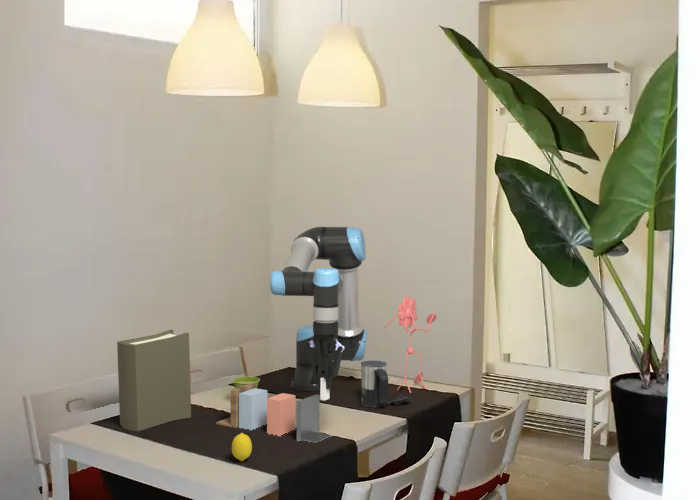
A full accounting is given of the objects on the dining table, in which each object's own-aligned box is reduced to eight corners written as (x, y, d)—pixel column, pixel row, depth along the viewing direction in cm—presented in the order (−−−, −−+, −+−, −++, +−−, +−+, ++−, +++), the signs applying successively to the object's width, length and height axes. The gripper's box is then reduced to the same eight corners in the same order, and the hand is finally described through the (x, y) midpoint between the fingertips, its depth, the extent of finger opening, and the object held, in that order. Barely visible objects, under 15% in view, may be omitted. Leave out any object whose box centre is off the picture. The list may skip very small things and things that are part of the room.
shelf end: (236, 416, 270) (236, 380, 269) (255, 420, 266) (255, 384, 265) (216, 424, 262) (216, 387, 261) (235, 428, 257) (235, 390, 256)
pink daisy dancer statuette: (440, 385, 315) (442, 295, 313) (398, 397, 296) (400, 301, 293) (408, 378, 326) (410, 291, 323) (366, 390, 306) (367, 297, 303)
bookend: (315, 432, 254) (315, 394, 253) (332, 436, 250) (333, 397, 250) (296, 441, 245) (296, 401, 244) (314, 444, 242) (315, 404, 241)
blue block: (254, 421, 265) (254, 388, 264) (267, 424, 262) (267, 390, 261) (239, 427, 258) (239, 393, 257) (251, 430, 255) (251, 395, 255)
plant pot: (242, 409, 279) (242, 384, 278) (227, 403, 286) (227, 379, 285) (265, 404, 285) (265, 380, 284) (249, 399, 292) (249, 375, 292)
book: (135, 434, 252) (132, 344, 250) (117, 428, 258) (114, 340, 256) (191, 417, 269) (188, 333, 266) (173, 412, 275) (170, 329, 272)
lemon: (228, 463, 225) (228, 434, 225) (237, 457, 231) (237, 429, 230) (245, 465, 223) (246, 437, 223) (255, 459, 229) (255, 431, 228)
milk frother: (354, 403, 288) (355, 362, 286) (387, 396, 298) (388, 356, 297) (382, 412, 277) (382, 369, 276) (415, 405, 287) (416, 363, 286)
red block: (282, 427, 259) (282, 393, 258) (295, 429, 257) (295, 395, 256) (267, 433, 252) (267, 398, 251) (280, 436, 250) (280, 400, 249)
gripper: (351, 321, 243) (350, 399, 245) (314, 317, 250) (313, 393, 251) (337, 324, 237) (336, 405, 238) (300, 320, 243) (299, 398, 245)
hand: (324, 399), depth 245 cm, fingers closed
